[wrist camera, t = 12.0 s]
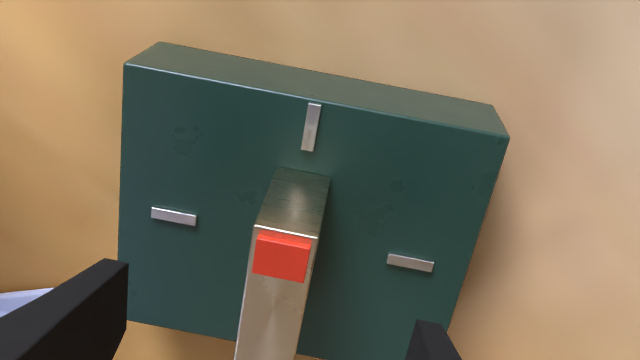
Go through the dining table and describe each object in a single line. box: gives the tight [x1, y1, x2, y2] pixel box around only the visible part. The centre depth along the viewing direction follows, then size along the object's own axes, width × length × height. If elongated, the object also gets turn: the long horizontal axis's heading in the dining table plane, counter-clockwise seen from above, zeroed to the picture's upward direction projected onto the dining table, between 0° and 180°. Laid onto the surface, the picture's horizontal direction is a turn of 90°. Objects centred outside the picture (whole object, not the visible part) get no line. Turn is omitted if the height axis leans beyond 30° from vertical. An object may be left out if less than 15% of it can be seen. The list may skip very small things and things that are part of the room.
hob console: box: [118, 42, 510, 360], centre depth 20 cm, size 11×9×3 cm
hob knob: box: [234, 167, 330, 360], centre depth 17 cm, size 5×2×4 cm, turn 170°
